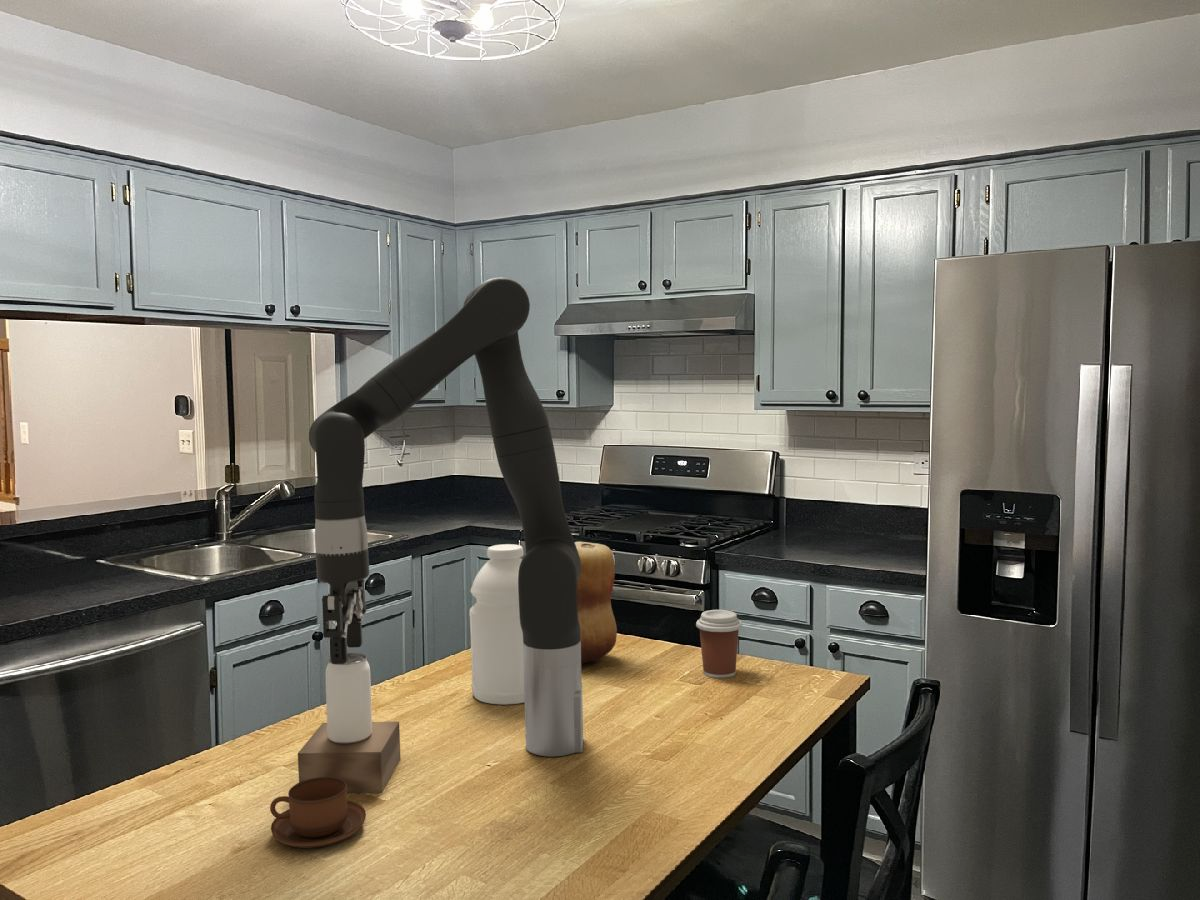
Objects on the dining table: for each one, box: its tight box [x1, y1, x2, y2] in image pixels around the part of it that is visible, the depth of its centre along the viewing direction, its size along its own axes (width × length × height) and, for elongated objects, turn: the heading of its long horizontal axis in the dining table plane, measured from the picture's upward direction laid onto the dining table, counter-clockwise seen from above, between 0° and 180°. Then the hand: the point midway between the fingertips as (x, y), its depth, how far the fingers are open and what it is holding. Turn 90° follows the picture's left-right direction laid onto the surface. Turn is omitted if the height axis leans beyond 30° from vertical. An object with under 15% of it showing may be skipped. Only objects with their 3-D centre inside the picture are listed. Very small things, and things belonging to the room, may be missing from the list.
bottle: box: [468, 543, 525, 705], centre depth 175 cm, size 14×14×28 cm
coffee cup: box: [695, 609, 743, 679], centre depth 186 cm, size 9×9×12 cm
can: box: [325, 652, 373, 744], centre depth 140 cm, size 6×6×12 cm
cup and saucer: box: [269, 777, 367, 849], centre depth 123 cm, size 12×12×6 cm
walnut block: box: [297, 721, 402, 794], centre depth 141 cm, size 12×12×6 cm
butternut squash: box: [574, 541, 618, 665], centre depth 194 cm, size 14×13×25 cm
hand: (347, 654), depth 139 cm, fingers open, 8 cm apart
